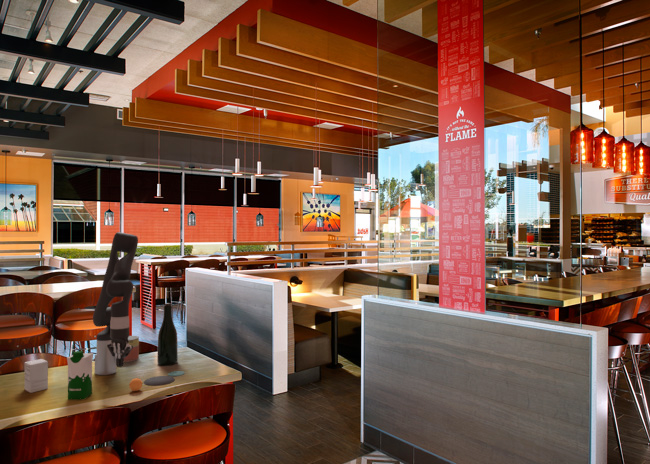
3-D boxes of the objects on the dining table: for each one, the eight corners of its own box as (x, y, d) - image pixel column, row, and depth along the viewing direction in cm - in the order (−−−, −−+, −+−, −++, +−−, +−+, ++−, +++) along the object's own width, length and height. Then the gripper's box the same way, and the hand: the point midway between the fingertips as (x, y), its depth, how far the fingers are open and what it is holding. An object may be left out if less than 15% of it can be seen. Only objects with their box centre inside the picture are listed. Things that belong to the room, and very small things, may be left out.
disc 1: (138, 385, 213) (138, 384, 213) (153, 375, 227) (153, 375, 227) (166, 386, 211) (166, 385, 211) (179, 376, 225) (179, 376, 225)
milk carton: (64, 400, 193) (64, 353, 193) (75, 393, 202) (75, 348, 202) (85, 400, 193) (85, 353, 193) (95, 392, 202) (95, 347, 202)
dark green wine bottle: (161, 360, 254) (162, 301, 254) (180, 360, 253) (180, 301, 253) (154, 366, 243) (154, 304, 243) (173, 366, 243) (173, 304, 243)
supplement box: (42, 385, 212) (42, 358, 212) (48, 388, 207) (48, 361, 207) (23, 389, 206) (24, 361, 206) (29, 393, 201) (30, 364, 201)
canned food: (113, 361, 251) (113, 340, 251) (123, 356, 262) (123, 335, 262) (133, 362, 251) (133, 340, 251) (142, 356, 262) (142, 335, 262)
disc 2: (165, 375, 226) (165, 375, 226) (172, 371, 234) (172, 370, 234) (180, 376, 225) (180, 376, 225) (187, 371, 233) (187, 371, 233)
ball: (126, 392, 202) (126, 380, 203) (133, 388, 208) (133, 376, 208) (138, 393, 202) (138, 380, 202) (144, 389, 207) (144, 376, 207)
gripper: (138, 326, 197) (138, 365, 197) (115, 323, 202) (115, 362, 202) (124, 329, 190) (124, 370, 190) (101, 327, 195) (101, 367, 195)
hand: (119, 366), depth 196 cm, fingers closed
